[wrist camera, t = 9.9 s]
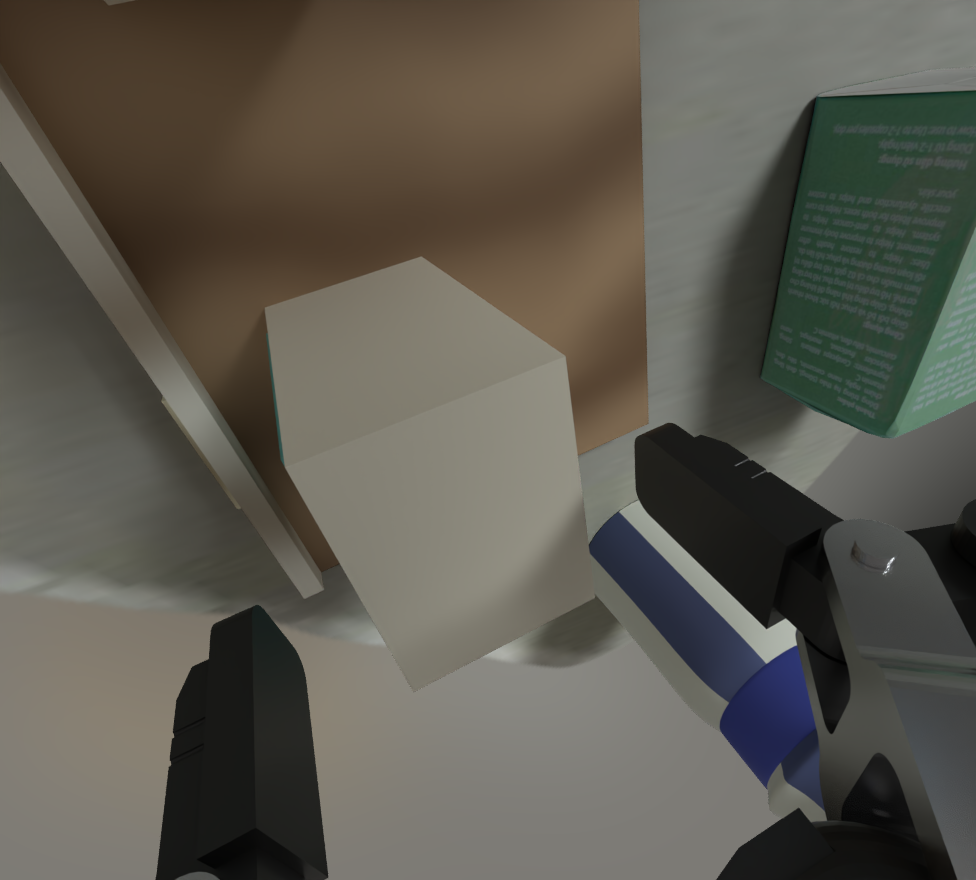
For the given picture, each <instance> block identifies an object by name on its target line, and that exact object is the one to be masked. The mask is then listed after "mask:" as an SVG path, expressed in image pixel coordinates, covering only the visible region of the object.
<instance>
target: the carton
mask: <svg viewBox="0 0 976 880" xmlns="http://www.w3.org/2000/svg"><path fill="white" fill-rule="evenodd" d="M265 315H266V323H267V331H268V333H266V339H267V347H268V356H269V364H270V373H271V381H272V390H273V398H274V407H275V415H276V424H277V432H278V441H279V449H280V458H281V461H282V463H283V465H284V466H285V469H286V470H287V472H288V474H289V476H290V477H291V479H292V481H293V483H294V484H295V486H296V488H297V490H298V491H299V493H300V495H301V497H302V498H303V500H304V502H305V504H306V505H307V507H308V509H309V511H310V512H311V514H312V516H313V518H314V519H315V521H316V523H317V524H318V526H319V528H320V530H321V531H322V533H323V535H324V537H325V538H326V540H327V542H328V544H329V545H330V547H331V549H332V551H333V552H334V554H335V556H336V558H337V559H338V561H339V563H340V565H341V566H342V568H343V570H344V572H345V573H346V575H347V577H348V579H349V580H350V582H351V584H352V586H353V587H354V589H355V591H356V593H357V594H358V596H359V598H360V600H361V601H362V603H363V605H364V607H365V608H366V610H367V612H368V614H369V615H370V617H371V619H372V621H373V622H374V624H375V626H376V628H377V629H378V631H379V633H380V635H381V636H382V638H383V640H384V642H385V643H386V645H387V647H388V649H389V650H390V652H391V653H392V656H393V657H394V659H395V661H396V663H397V664H398V666H399V668H400V670H401V671H402V673H403V675H404V676H405V678H406V680H407V682H408V683H409V685H410V687H411V689H412V691H413V692H415V691H417V690H419V689H421V688H423V687H425V686H427V685H428V684H431V683H432V682H434V681H436V680H438V679H440V678H442V677H444V676H446V675H448V674H450V673H452V672H454V671H455V670H457V669H459V668H461V667H463V666H465V665H467V664H469V663H471V662H473V661H475V660H477V659H479V658H481V657H482V656H484V655H486V654H488V653H490V652H492V651H494V650H496V649H498V648H500V647H502V646H504V645H506V644H507V643H509V642H511V641H513V640H515V639H517V638H519V637H521V636H523V635H525V634H527V633H529V632H531V631H532V630H534V629H536V628H538V627H540V626H542V625H544V624H546V623H548V622H550V621H552V620H554V619H556V618H557V617H559V616H561V615H563V614H565V613H567V612H569V611H571V610H573V609H575V608H577V607H579V606H581V605H582V604H584V603H586V602H588V601H590V600H592V599H594V598H595V593H594V585H593V576H592V568H591V560H590V552H589V544H588V536H587V527H586V519H585V511H584V503H583V495H582V486H581V478H580V470H579V462H578V454H577V446H576V437H575V429H574V421H573V413H572V405H571V396H570V388H569V380H568V372H567V364H566V356H565V355H563V354H562V353H560V352H559V351H557V350H556V349H555V348H553V347H552V346H550V345H549V344H547V343H546V342H544V341H543V340H542V339H540V338H539V337H537V336H536V335H534V334H533V333H531V332H530V331H529V330H527V329H526V328H524V327H523V326H521V325H520V324H518V323H517V322H516V321H514V320H513V319H511V318H510V317H508V316H507V315H505V314H504V313H503V312H501V311H500V310H498V309H497V308H495V307H494V306H492V305H491V304H490V303H488V302H487V301H485V300H484V299H482V298H481V297H479V296H478V295H477V294H475V293H474V292H472V291H471V290H469V289H468V288H466V287H465V286H464V285H462V284H461V283H459V282H458V281H456V280H455V279H453V278H452V277H451V276H449V275H448V274H446V273H445V272H443V271H442V270H440V269H439V268H438V267H436V266H435V265H433V264H432V263H430V262H429V261H427V260H426V259H425V258H423V257H422V256H421V257H418V258H415V259H412V260H409V261H406V262H403V263H400V264H397V265H394V266H391V267H388V268H385V269H381V270H378V271H375V272H372V273H369V274H366V275H363V276H360V277H357V278H354V279H351V280H348V281H345V282H342V283H339V284H336V285H332V286H329V287H326V288H323V289H320V290H317V291H314V292H311V293H308V294H305V295H302V296H299V297H296V298H293V299H290V300H287V301H283V302H280V303H277V304H274V305H271V306H268V307H265Z"/></svg>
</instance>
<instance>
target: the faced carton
mask: <svg viewBox="0 0 976 880" xmlns="http://www.w3.org/2000/svg"><path fill="white" fill-rule="evenodd" d="M104 1H105V2H106V3H107V4H108V5H114V4H119V3H124V2H129V1H134V0H104Z"/></svg>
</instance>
